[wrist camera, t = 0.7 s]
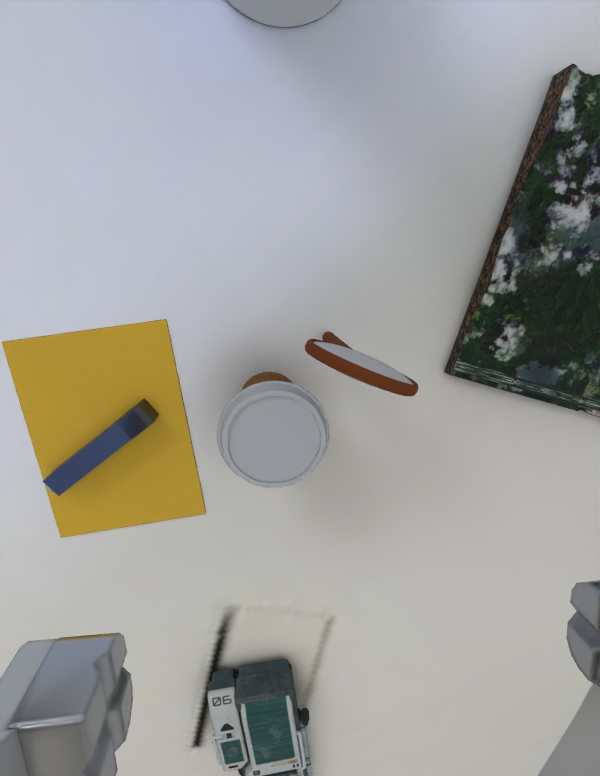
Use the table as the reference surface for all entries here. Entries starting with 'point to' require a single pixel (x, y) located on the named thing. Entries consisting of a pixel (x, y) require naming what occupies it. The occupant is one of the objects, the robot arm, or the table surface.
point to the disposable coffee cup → (272, 432)
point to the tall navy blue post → (101, 447)
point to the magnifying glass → (359, 365)
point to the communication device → (259, 721)
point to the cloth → (108, 423)
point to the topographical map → (544, 264)
